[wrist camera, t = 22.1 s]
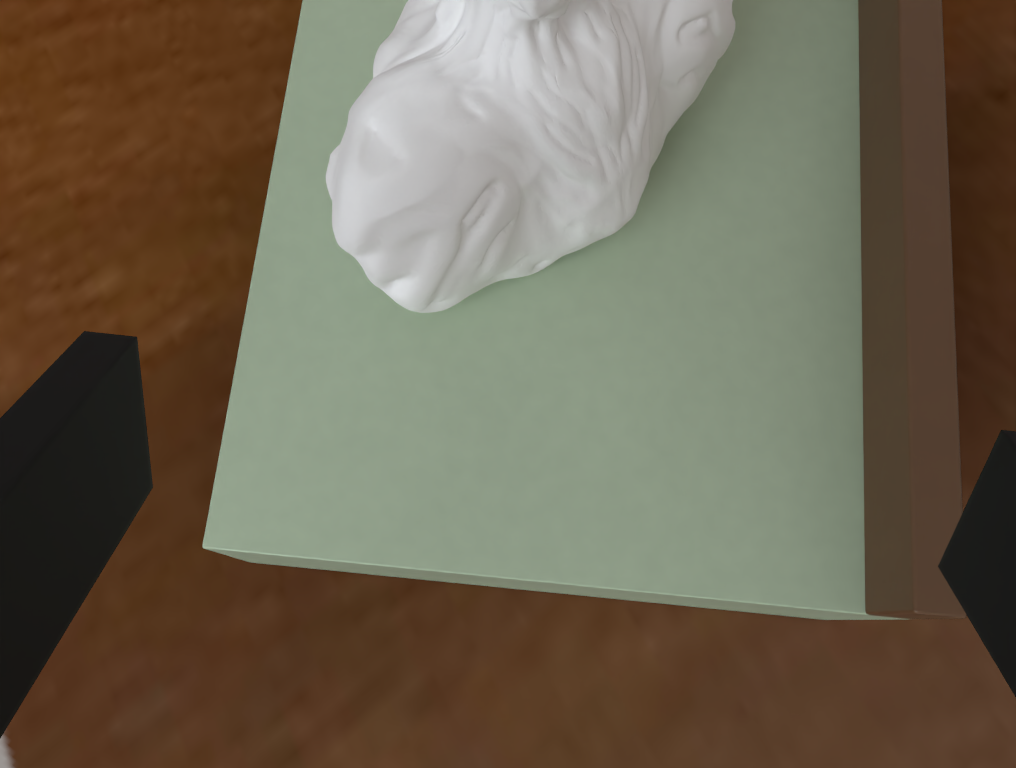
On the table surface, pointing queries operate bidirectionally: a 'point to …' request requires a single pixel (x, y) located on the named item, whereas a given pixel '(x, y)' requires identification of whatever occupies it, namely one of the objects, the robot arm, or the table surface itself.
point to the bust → (511, 135)
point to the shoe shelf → (633, 352)
